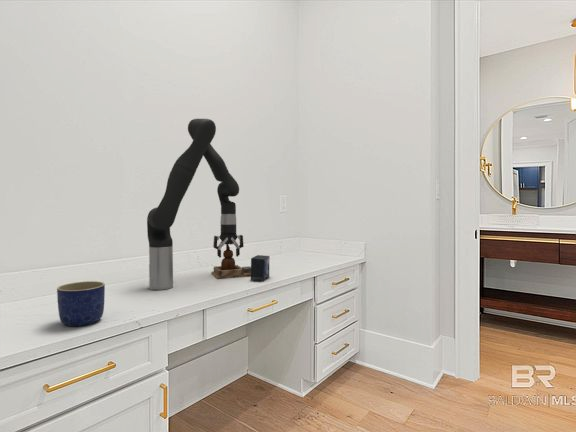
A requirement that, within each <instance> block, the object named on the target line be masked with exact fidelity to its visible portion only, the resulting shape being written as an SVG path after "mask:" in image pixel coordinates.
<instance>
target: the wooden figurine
mask: <svg viewBox="0 0 576 432" xmlns="http://www.w3.org/2000/svg"><path fill="white" fill-rule="evenodd" d="M222 254H223V255H222V256H223V258H222V259H221V262H220V263H221V264H220V266H221V268H222V270H234V269H235V265H236V260H235V258H234V257H233V256H234V251H233V250H232V249H231V248H230V244H228V245H227V243H226V244H225V250H224V251H223V252H222Z"/></svg>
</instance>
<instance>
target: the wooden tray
mask: <svg viewBox="0 0 576 432" xmlns="http://www.w3.org/2000/svg"><path fill="white" fill-rule="evenodd" d="M211 275H212V276H213V277H214V278H215V279H217V280H221V279H223V280H224V279H236V278H247V277H250V278H251V265H250V266H240V265H238V264H235V269H234V270H222V268H221V265H218V266H216V265H215V266H213V271H211Z"/></svg>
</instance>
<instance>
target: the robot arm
mask: <svg viewBox="0 0 576 432" xmlns="http://www.w3.org/2000/svg"><path fill="white" fill-rule="evenodd" d="M216 130H217V126H216V123H215V121H213V120H212V119H209V118H193V119H191V120H190V121H189V123H188V124H187V131H188V134H189V136H190V137H191V139H192V141H191V144H190V145H189V146H188V148H187V149H185V150H184V151H183V153H182V154H180V156H179V157H177V159H176V160H175V162H174V164H173V166H172V168H171V170H170V172H169V175H168V177H167V182H166V188H165V192H164V195H163V197H162V199H161V201H160V203H159V204H158V205H157V207H154V208H152V209H151V210H150V211H149V212H148V214H147V216H146V226H147V227H146V228H147V229H146V230H147V231H146V232H147V240H148V255H149V256H148V260H149V261H148V263H149V264H148V272H149V273H148V279H149V280H148V283H149V290H155V291H163V290H168V289H173V287H174V254H173V253H174V249H173V248H174V247H173V241H174V240H173V238H172V235H171V227H173V225H174V223H175V220H176V217H177V214H178V212H179V208H180V205H181V203H182V201H183V199H184V197H185V195H186V193H187V191H188V189H189V188H190V185H191V183H192V181H193V179H194V176H195V174H196V172H197V170H198V167H199V166H200V163H201V161H202V159H203V157H204V159H205V161H206V162H207V164H208V166H209V168H210V170H211V173H212V175H213V177H214V179H215V180H216V181H217V182H220V183H219V184H218V186H217V196H218V199H219V203H220V214H221V215H220V223H219V224H220V235H214V236H213V249H215V250H217V251H216V252H217V253H216V254H217V257H218V258H222V247H224V246H225V245H226V243H227V245H234V246H235V248H236V249H235V257H239V256H240V253H241V252H240V250H241V248H244V236H243V234H238V235H237V214H236V213H237V212H236V211H237V207H236V206H237V205H236V203H235V202H234V201H232V200H230V198H229V197H236V196H238V195H239V193H240V186H239V184H238V182H237V181H236V179H235V178H234V177H233V175H232V174H231V173H230V171H229V169H228V167H227V165H226V162H225V161H224V159H223V158H222V156H220V154H219V153H218V152H217V151H216V149H214V147H213V145H212V144H211V143H212V141H213V139H214V138H215V135H216ZM237 239H238V240H239V244H238V242H237V241H236V240H237ZM220 240H221V241H220ZM218 241H220V243H219V244H218Z"/></svg>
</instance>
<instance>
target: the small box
mask: <svg viewBox="0 0 576 432" xmlns="http://www.w3.org/2000/svg"><path fill="white" fill-rule="evenodd" d="M250 267H251V276H250V282H260V283H263V282H265V281H266V280H268V279H269V278H270V255H259V254H257V255H255V256H252V257H251V258H250Z"/></svg>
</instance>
